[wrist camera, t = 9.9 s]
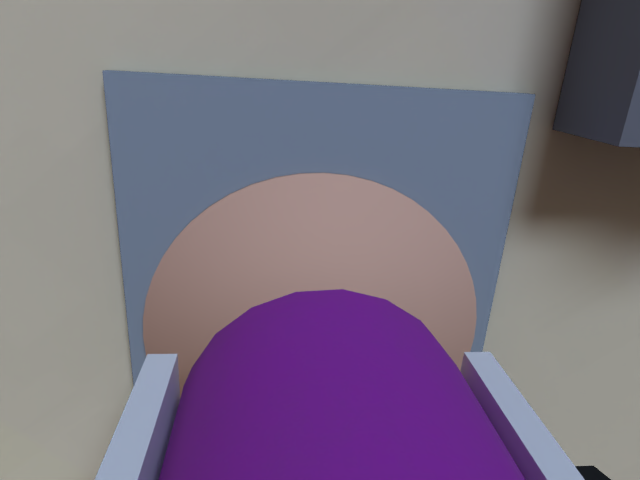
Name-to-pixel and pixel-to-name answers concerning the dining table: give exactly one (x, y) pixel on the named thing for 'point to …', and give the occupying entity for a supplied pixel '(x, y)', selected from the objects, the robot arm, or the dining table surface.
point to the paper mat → (307, 200)
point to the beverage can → (330, 399)
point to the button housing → (603, 75)
